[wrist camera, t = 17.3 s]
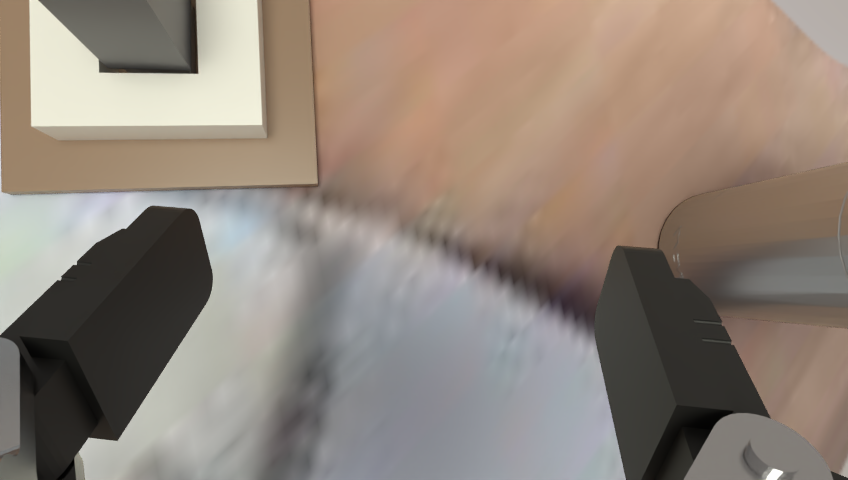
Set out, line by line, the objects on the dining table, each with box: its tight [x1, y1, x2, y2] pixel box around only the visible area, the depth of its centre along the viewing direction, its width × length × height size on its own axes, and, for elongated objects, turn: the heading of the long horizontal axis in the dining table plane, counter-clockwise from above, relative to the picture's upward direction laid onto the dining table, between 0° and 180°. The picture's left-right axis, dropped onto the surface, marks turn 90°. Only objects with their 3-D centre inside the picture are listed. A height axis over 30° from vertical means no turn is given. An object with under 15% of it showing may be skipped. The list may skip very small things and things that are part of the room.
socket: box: [0, 0, 318, 195], centre depth 32 cm, size 18×18×4 cm
